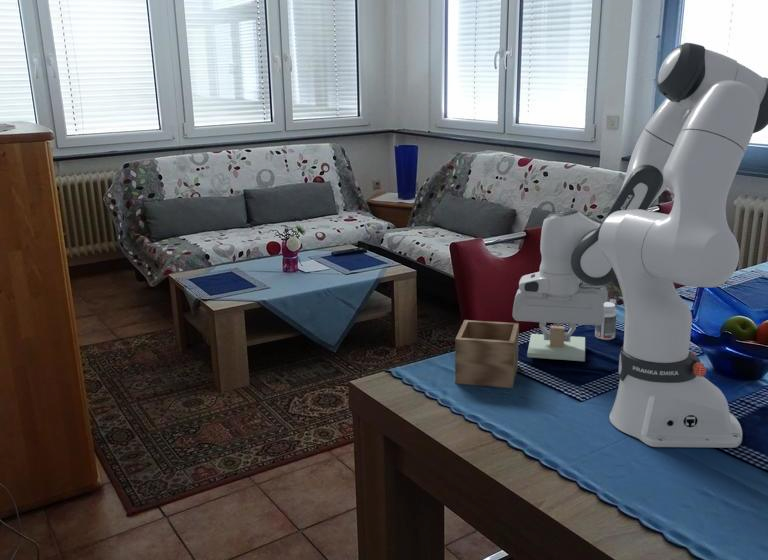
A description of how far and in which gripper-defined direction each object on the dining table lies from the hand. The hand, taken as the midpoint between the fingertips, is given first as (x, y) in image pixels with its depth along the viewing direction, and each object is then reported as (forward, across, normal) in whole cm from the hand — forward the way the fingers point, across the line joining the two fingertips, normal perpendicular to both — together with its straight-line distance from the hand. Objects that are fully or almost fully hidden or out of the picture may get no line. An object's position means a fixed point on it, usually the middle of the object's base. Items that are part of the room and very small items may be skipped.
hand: (557, 340), depth 166 cm
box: (+4, +14, +14) cm, 20 cm away
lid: (+2, 0, 0) cm, 2 cm away
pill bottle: (+4, -11, -14) cm, 18 cm away
